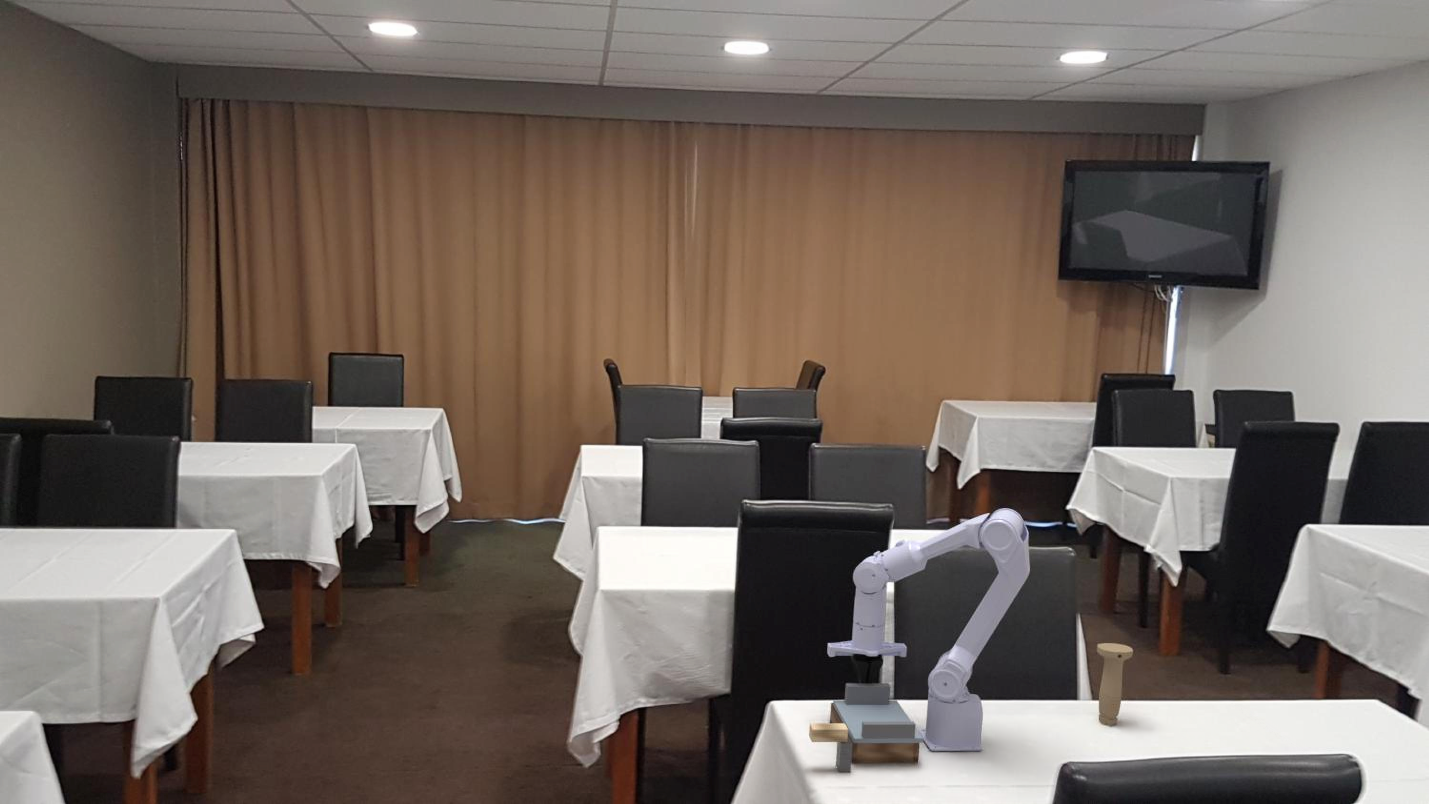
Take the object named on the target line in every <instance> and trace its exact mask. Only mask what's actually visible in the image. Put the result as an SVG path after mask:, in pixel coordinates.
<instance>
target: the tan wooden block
mask: <svg viewBox="0 0 1429 804" xmlns="http://www.w3.org/2000/svg"><path fill="white" fill-rule="evenodd" d="M808 735H809V738H810V741H811V743H837V742H847V738H848V728H847V727H846V725H845V723H830V722H829V723H824V722H823V723H821V722H820V723H819V722H818V723H815V722H814V723H811V722H810V723H809V731H808Z"/></svg>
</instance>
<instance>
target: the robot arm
mask: <svg viewBox="0 0 1429 804" xmlns="http://www.w3.org/2000/svg"><path fill="white" fill-rule="evenodd" d="M989 515H990V517H989ZM988 517H989V518H988ZM1028 530H1029V529H1028V528H1027V526H1026V523H1025V521H1024V519H1023V518H1022V516H1021V514H1020V513H1019V512H1017V511H1016V510H1014V509H1011V508H1005V507H1004V508H999V509H997V510H995V511H993V513H992V514H990V513H989V512H988V513H984V514H982V515H981V514H980V515H978V516H976V517H973V518H971V519H968V520H965V521H964V522H961V523H960V524H957V525H955V526H953V527H951V528H949V529H947V530H944V531H943V532H941V533H939V534H937V535H935V536H932V537H931V538H928V539H927V540H924V541H922V542H919V541H915V540H912V539H909V540H907V541H905V539H900V540H898V541H897V542H896V543H895V544H896V545H895V546H893V547H891V548H888V549H887V550H886V549H885V550H884V551H883V552H881V551H880V550H877V551H876V552H874V553H873V555H871V556H868V557H866V558H865V559H863V560H862V562H860V563H859V564H858V565H857V566H856V567H855V569H854V570H853V574H852V581H853V583H854V585H855V596H854V606H853V622H852V636H851V638H852V639H851V640H847V641H840V642H828V643H827V653H826V654H827V655H828V657H830V658H834V657H836V656H839V657H840V656H841V657H842V656H843V657H844V656H845V657H846V656H847V657H848V656H850V658H851V661H852V664H853V666H854V669H855V673H856V677H857V683H873V682H874V680H875V678H876V676H877V674H878V673H879V671H880V670H881V669H882V667H883V665H884V659H883V656H891V657H892V656H895V657H896V656H897V657H898V656H899V657H900V658H906V657H907V651H908V647H907V646H906V644H905V643H900V642H898V643H897V642H890V641H884V638H885V637H884V636H885V621H886V609H887V608H886V607H887V583H896V582H898V581H900V580H902V579H904V578H906V577H909V576H911V575H914V574H916V573H918V572H921V571H923V570H925V569H926V565H927V562H928V560H931V559H932V558H936V557H937V556H940V555H943V554H945V553H948V552H951V551H953V550H956V549H958V548H961V547H964V546H969V547H972V548H975V549H977V550H978V549H979V550H980V549H981V548H982V547H984V548H985V550H986V551H987V552H988V554H990V556H991V557H992V558H993V560H994V563H995V565H996V569H997V571H998V574H997V576H996V577H995V579H994V580H993V582H992V583H991V585H990V587H989V588H988V590H987V591H986V593H985V595H984V597H983V598H982V600H981V601H980V602H979V604H978V606H977V608H975V609H976V610H975V611H974V613H973V614H972V616H971V618H970V619H969V621H968V623H967V624H966V626H965V628H964V629H963V630H962V632H961V634H960V635H959V637H958V639H957V640H956V642H955V643H954V645H953V647H952V648H951V649H950V650H948V651H946V652H945V653H943V654H942V655H941V656H940V657H939V658H938V662H937V664H936V665H935V666H934V668H933V669H932V671H931V672H930V673H929V675H928V679H927V685H928V686H927V687H928V696H927V697H928V698H927V707H926V708H927V709H926V720H925V721H926V722H925V728H924V729H922V728H921V729H917V730H918V732H919V733H920V735H921V736H922V738H923V743H925V745H926V746H927V748H928V749H929V750H930V751H931V752H933V751H934V752H944V751H945V752H954V751H955V752H959V751H960V752H961V751H963V752H967V751H968V752H969V751H975V752H977V751H982V749H983V748H982V746H981V742H982V730H983V719H984V716H983V715H984V710H983V704H982V700H981V698H980V697H979V695H978V694H974V693H970V692H969V689H968V687H967V684H968V683H967V682H969V680H970V679H971V678H972V677H971V676H973V675H972V674H973V665H974V663H975V662H976V660H977V659H978V657H979V655H980V653H981V652H982V651H983V649H984V647H985V646H986V644H987V643H988V641H989V639H990V638H991V636H992V635H993V634H994V631H995V630H996V629H997V627H998V625H999V623H1000V622H1001V621H1002V619H1003V617H1004V616H1005V614H1006V613H1007V611H1008V609H1009V607H1010V606H1011V604H1012V603H1013V601H1014V599H1015V598H1016V596H1017V595H1018V593H1019V592H1020V590H1021V589H1022V587H1023V586H1024V584H1025V582H1026V580H1028V577H1029V575H1030V572H1031V569H1030V568H1031V567H1030V566H1031V564H1030V563H1031V562H1030V550H1029V548H1030V547H1029V538H1030V537H1029V531H1028Z"/></svg>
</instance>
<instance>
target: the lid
mask: <svg viewBox="0 0 1429 804" xmlns="http://www.w3.org/2000/svg"><path fill="white" fill-rule="evenodd" d="M890 698H891V685H890V684H889V683H888V682H887V683H885V682H884V683H883V682H882V683H879V682H878V683H877V682H875V683H858V682H857V683H856V682H855V683H854V682H847V683H845V691H844V700H841V699H840V700H838V699H837V700H834V699H833V700H832V703H833V705H834V707H835V709H836V711H837V713H838V715H839V716H840V718H841V720H842V722H843V723H845V725H846V727H847V728H848V733H849V735H850V736H851V738H852V740H853V742H854V743H920V744H923V743H924V740H923V738H922V736H921V735H920V733H919V732H918V730H919V729H917V727H916V723H915V721H912V720H911V719H910V717H909V716H908V715H907V713H906V711H905V710H904V708H903V707H902V705H900V703H899V702H898V701H897V700H895V699H894V700H892V699H890Z"/></svg>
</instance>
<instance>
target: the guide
mask: <svg viewBox="0 0 1429 804" xmlns="http://www.w3.org/2000/svg"><path fill="white" fill-rule="evenodd" d="M836 744H837V745H836V756H835V759H836V760H835V767H837V768H836V770H837V771H838V773H841V774H842V773H844V774H845V773H849V774H851V772H852V763H851V759H852V745H853V743H852V741H851V739H850V737H848V738H847V742H836Z"/></svg>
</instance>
